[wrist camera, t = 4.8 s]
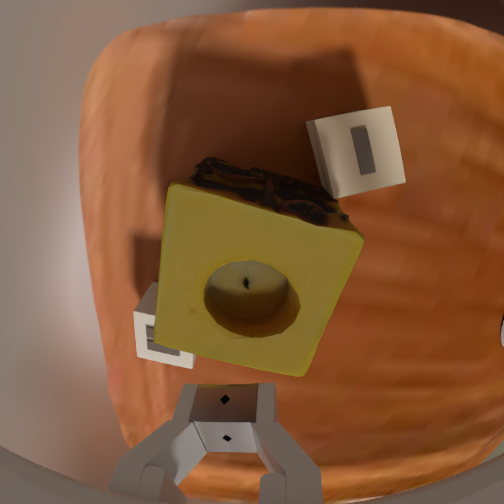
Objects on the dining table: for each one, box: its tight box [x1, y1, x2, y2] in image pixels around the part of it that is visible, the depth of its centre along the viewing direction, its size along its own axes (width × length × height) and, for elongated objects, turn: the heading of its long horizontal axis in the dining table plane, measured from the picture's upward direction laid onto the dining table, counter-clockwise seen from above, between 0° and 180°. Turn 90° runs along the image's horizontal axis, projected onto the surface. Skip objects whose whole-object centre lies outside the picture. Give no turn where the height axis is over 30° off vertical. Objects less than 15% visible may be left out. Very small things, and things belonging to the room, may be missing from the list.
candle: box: [153, 157, 364, 377], centre depth 20 cm, size 10×10×10 cm
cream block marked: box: [133, 282, 196, 369], centre depth 26 cm, size 5×5×5 cm
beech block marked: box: [305, 106, 406, 199], centre depth 19 cm, size 5×5×5 cm
